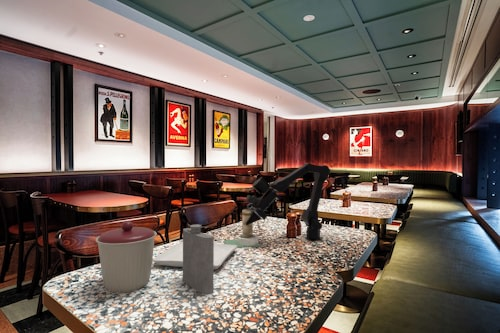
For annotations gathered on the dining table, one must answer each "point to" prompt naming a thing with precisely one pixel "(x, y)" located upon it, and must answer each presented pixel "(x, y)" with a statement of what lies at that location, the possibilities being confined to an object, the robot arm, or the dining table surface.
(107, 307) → the dining table surface
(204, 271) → the hip flask
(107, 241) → the canister
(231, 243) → the octagonal cup coaster
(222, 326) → the dining table surface
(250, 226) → the tan tapered tumbler
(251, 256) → the dining table surface
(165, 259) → the square plate
